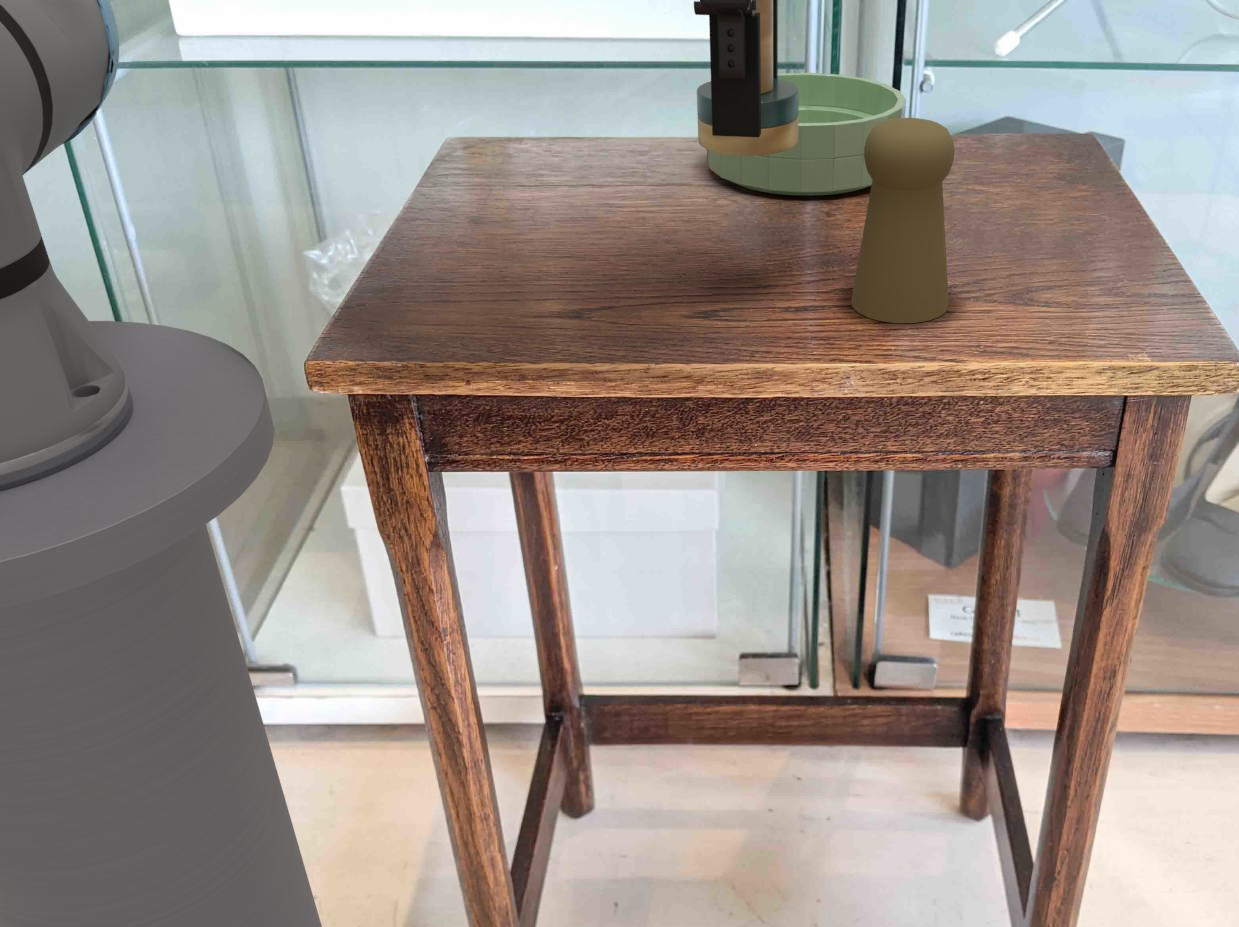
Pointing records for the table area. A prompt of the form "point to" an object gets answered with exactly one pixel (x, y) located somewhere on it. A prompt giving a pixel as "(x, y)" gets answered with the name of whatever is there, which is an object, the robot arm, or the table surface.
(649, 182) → the table surface
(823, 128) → the bowl
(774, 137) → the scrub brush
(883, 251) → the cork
